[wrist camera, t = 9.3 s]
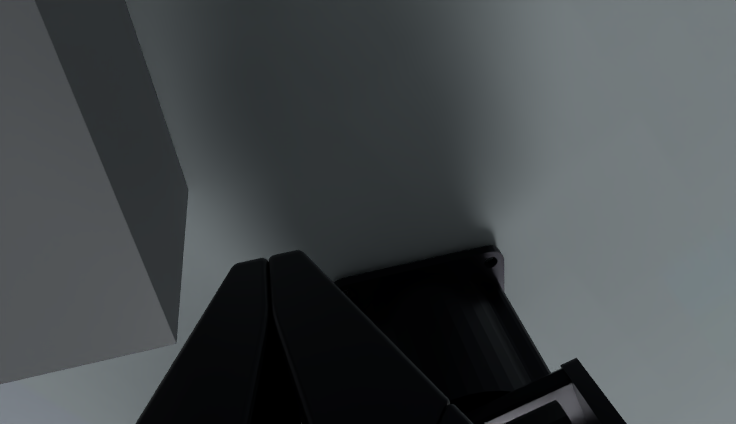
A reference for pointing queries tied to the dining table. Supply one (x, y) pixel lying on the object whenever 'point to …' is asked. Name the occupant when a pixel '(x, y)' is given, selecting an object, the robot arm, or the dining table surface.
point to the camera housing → (83, 191)
